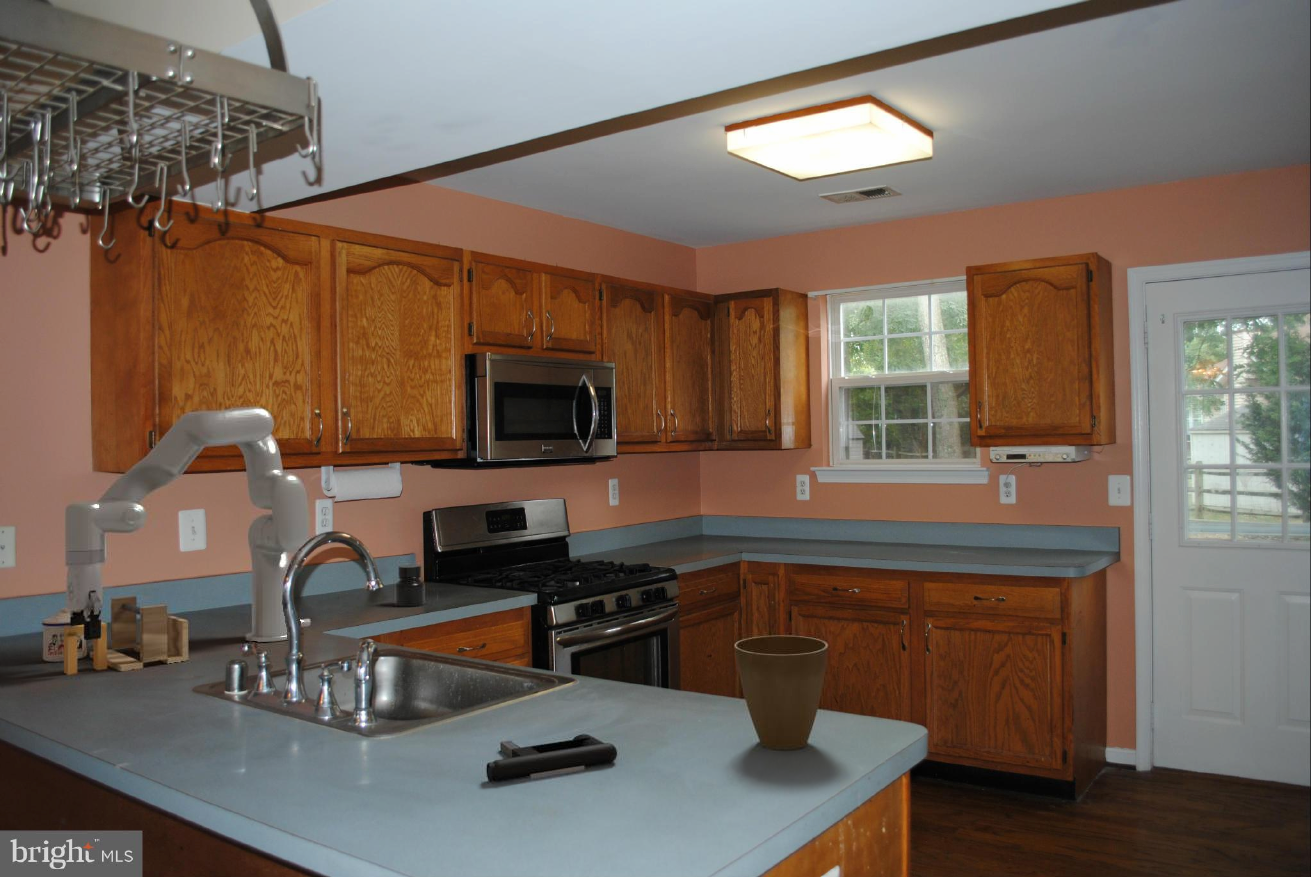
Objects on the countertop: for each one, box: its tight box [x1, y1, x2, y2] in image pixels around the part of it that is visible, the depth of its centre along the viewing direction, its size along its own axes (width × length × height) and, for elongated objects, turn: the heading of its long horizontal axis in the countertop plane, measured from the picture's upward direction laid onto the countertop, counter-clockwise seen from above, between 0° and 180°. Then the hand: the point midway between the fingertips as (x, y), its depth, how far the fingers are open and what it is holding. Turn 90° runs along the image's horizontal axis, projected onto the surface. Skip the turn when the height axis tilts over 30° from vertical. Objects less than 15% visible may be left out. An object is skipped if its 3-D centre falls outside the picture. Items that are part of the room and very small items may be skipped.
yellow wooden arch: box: [63, 621, 108, 676], centre depth 210 cm, size 8×3×10 cm, turn 136°
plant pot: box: [734, 635, 829, 751], centre depth 154 cm, size 15×15×16 cm
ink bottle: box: [394, 564, 426, 608], centre depth 296 cm, size 10×9×12 cm
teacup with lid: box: [41, 607, 94, 663], centre depth 224 cm, size 12×9×12 cm
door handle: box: [485, 733, 618, 783], centre depth 146 cm, size 3×20×16 cm
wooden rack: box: [89, 595, 189, 672], centre depth 221 cm, size 22×14×13 cm, turn 46°
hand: (85, 636), depth 210 cm, fingers open, 9 cm apart
